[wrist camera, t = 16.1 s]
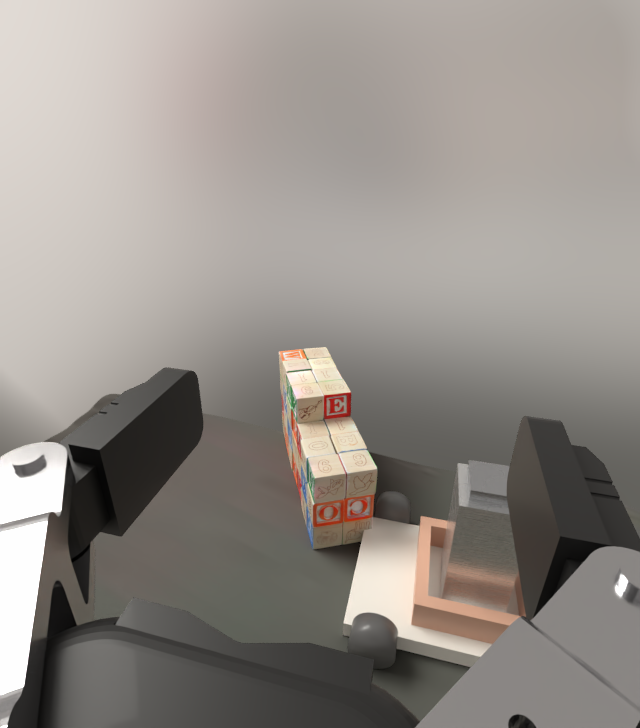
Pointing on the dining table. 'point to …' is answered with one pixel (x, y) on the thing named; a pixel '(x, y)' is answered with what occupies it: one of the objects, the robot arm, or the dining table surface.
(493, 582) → the grey tall block
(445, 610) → the chassis
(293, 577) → the dining table surface
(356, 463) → the stack of blocks
